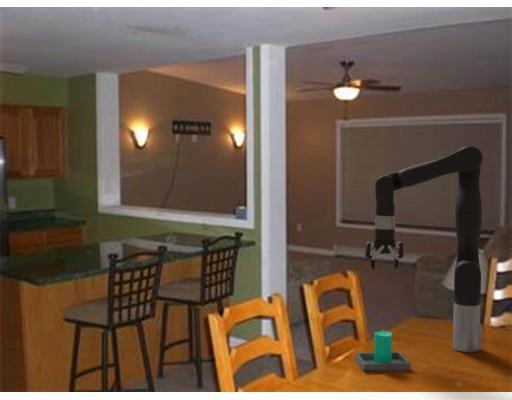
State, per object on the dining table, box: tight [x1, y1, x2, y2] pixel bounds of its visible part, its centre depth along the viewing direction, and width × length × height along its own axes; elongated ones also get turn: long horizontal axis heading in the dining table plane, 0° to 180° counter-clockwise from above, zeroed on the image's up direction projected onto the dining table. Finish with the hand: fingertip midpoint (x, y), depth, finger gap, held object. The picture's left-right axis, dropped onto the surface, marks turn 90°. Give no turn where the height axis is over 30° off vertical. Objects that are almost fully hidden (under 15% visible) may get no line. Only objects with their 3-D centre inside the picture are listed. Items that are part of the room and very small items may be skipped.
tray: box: [354, 351, 412, 373], centre depth 215 cm, size 16×12×2 cm
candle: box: [373, 328, 393, 363], centre depth 214 cm, size 6×6×12 cm
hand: (384, 269), depth 240 cm, fingers open, 8 cm apart
